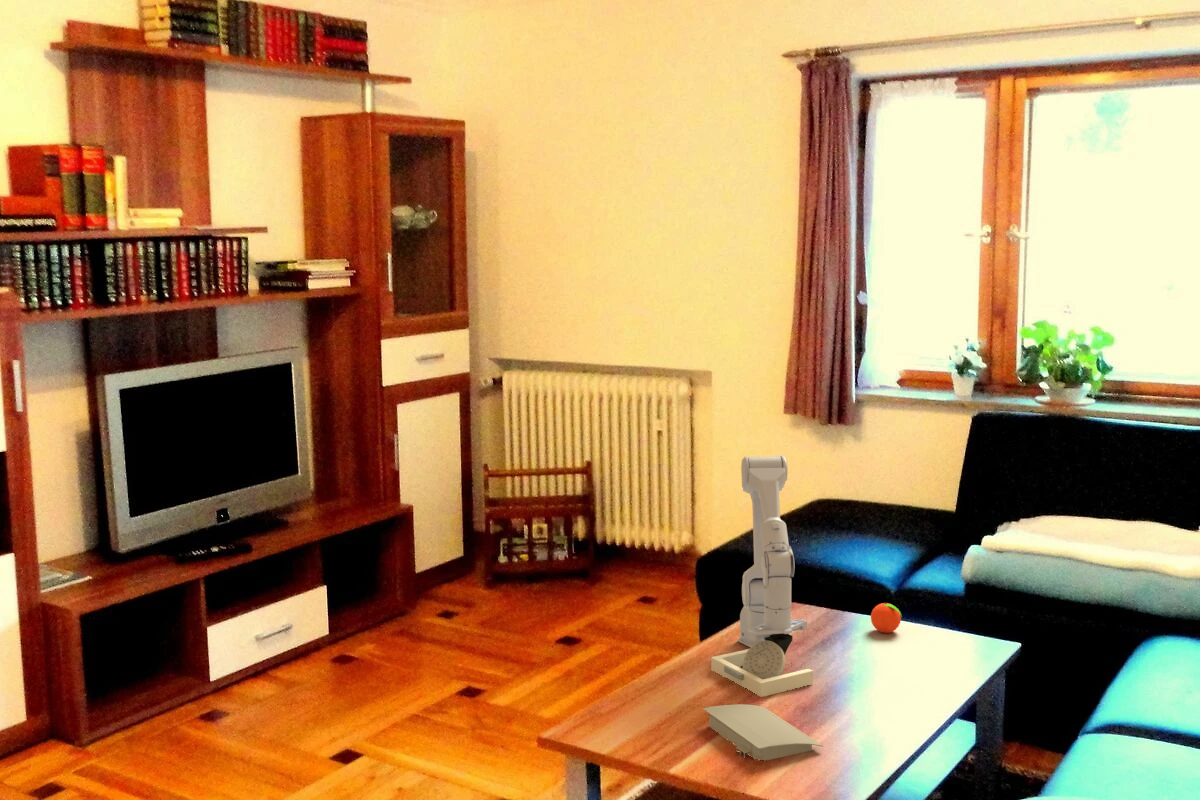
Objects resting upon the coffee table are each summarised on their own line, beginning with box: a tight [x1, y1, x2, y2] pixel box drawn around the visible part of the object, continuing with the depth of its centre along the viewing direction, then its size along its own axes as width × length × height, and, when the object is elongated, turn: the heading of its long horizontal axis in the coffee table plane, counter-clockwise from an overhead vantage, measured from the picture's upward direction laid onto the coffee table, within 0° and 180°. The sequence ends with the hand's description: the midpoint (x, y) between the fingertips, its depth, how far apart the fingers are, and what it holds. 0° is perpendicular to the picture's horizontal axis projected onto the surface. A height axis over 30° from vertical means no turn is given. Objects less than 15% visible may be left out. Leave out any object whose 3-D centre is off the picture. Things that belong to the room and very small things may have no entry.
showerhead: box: [742, 640, 786, 680], centre depth 260 cm, size 9×7×10 cm
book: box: [702, 703, 823, 762], centre depth 231 cm, size 15×23×4 cm, turn 24°
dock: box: [710, 648, 814, 698], centre depth 262 cm, size 18×14×3 cm
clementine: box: [870, 602, 903, 634], centre depth 289 cm, size 8×7×7 cm
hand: (777, 666), depth 264 cm, fingers closed, pressing on showerhead
